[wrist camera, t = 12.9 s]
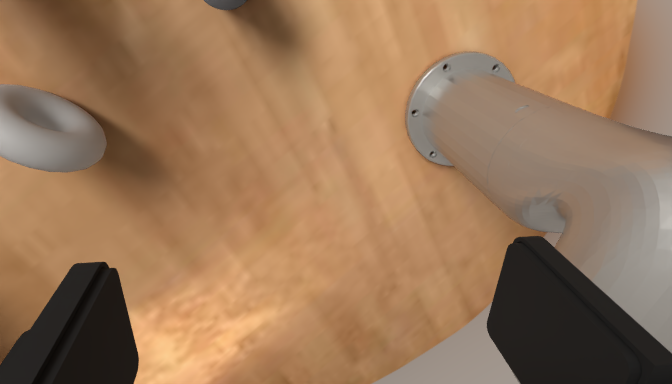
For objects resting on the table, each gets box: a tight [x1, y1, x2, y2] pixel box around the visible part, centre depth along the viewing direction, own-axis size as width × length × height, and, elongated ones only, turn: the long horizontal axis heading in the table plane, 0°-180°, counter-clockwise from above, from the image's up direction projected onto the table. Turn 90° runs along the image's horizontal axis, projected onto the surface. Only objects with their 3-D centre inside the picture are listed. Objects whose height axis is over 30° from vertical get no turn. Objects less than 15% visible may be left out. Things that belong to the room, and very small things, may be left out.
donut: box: [0, 84, 107, 172], centre depth 35 cm, size 10×4×10 cm, turn 55°
